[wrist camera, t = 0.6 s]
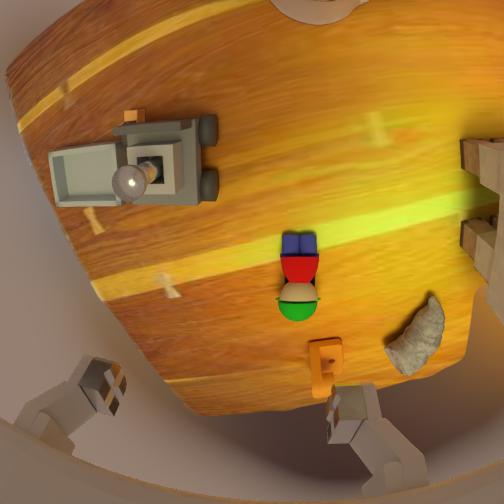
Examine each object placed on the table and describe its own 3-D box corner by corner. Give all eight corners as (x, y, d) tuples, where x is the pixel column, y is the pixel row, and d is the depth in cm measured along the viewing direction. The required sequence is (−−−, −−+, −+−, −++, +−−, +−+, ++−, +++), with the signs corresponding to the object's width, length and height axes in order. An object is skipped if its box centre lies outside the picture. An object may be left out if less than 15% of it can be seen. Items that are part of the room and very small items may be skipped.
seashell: (431, 287, 55) (449, 316, 46) (446, 326, 60) (461, 354, 51) (369, 324, 61) (378, 357, 52) (391, 357, 65) (400, 388, 57)
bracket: (341, 365, 68) (347, 405, 57) (312, 369, 69) (314, 409, 58) (340, 335, 63) (347, 376, 52) (308, 339, 64) (311, 381, 54)
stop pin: (146, 150, 41) (109, 167, 32) (173, 149, 41) (141, 165, 31) (148, 178, 43) (114, 201, 34) (175, 178, 43) (145, 201, 33)
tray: (61, 147, 48) (48, 152, 44) (127, 139, 47) (115, 143, 43) (69, 199, 53) (56, 206, 49) (132, 197, 52) (121, 206, 48)
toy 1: (275, 238, 57) (275, 317, 56) (274, 233, 49) (273, 325, 49) (320, 238, 56) (319, 317, 55) (325, 233, 48) (325, 325, 48)
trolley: (132, 110, 44) (96, 115, 34) (218, 103, 43) (199, 104, 33) (138, 195, 52) (107, 218, 42) (219, 196, 51) (202, 221, 40)
